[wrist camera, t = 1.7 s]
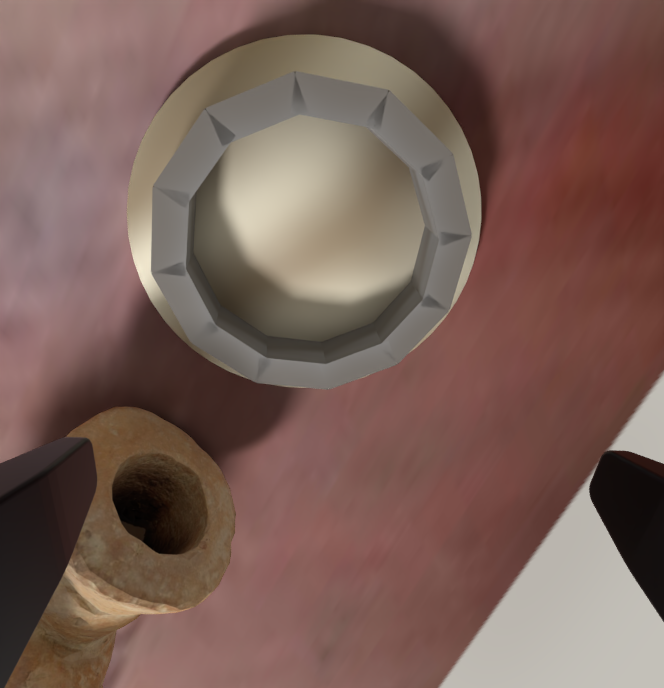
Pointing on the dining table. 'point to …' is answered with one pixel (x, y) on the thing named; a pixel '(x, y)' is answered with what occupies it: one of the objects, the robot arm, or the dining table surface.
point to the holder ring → (304, 211)
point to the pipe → (132, 546)
